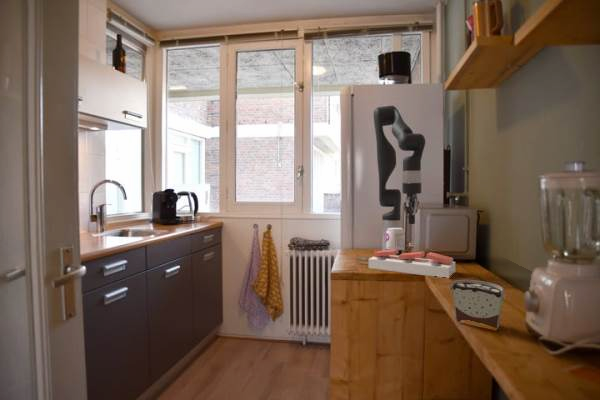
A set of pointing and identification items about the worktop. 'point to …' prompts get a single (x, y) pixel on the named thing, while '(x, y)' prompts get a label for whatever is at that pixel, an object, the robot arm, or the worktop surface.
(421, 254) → the rocker middle
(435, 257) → the rocker
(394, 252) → the rocker
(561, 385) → the worktop surface
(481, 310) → the food container
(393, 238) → the supplement can
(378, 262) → the power strip
